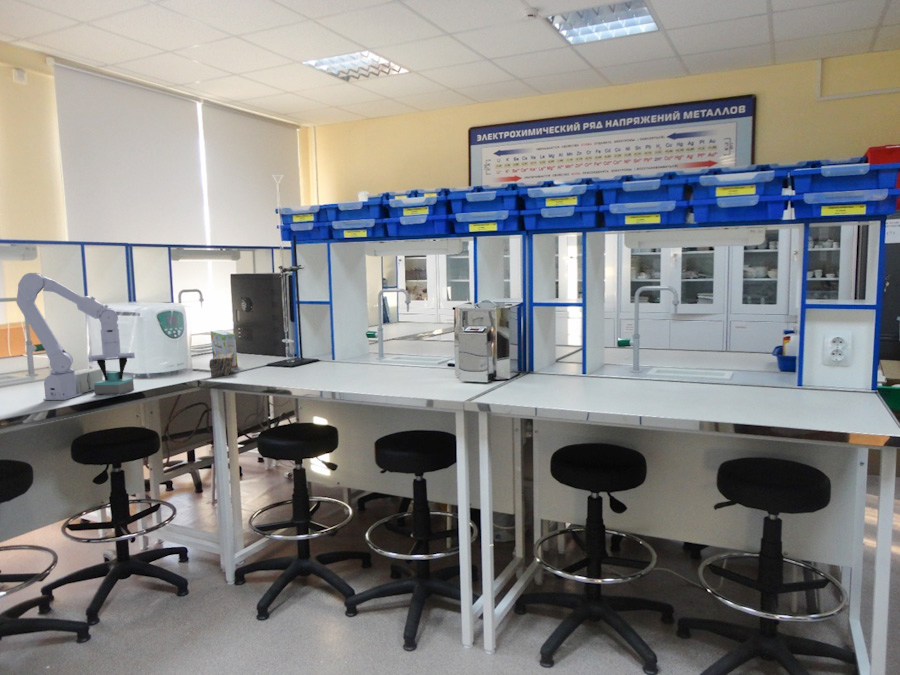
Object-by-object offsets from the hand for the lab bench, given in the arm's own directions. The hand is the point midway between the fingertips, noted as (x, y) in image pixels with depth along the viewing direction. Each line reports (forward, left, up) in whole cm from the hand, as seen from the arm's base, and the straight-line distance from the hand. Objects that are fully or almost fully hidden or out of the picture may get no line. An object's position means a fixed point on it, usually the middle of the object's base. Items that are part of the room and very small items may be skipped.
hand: (113, 379), depth 228 cm
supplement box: (+9, +13, -1) cm, 16 cm away
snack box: (+63, -12, -5) cm, 65 cm away
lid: (0, 0, -1) cm, 1 cm away
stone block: (+39, -23, -5) cm, 46 cm away
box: (0, 0, -5) cm, 5 cm away
